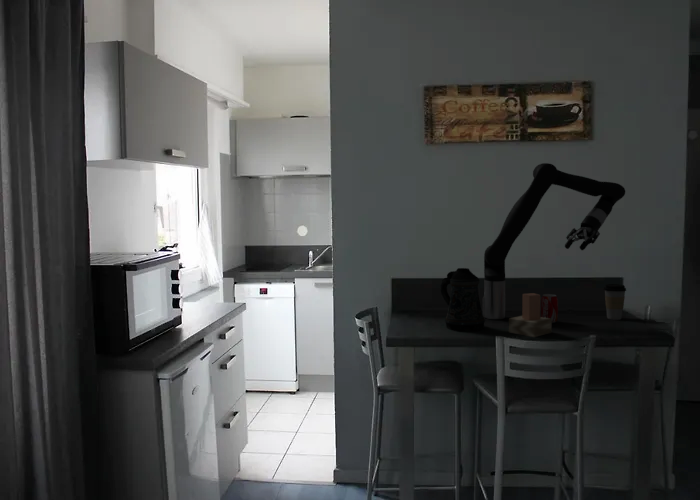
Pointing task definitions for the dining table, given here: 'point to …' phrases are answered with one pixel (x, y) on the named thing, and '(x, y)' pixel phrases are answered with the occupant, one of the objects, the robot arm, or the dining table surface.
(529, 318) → the terracotta block
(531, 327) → the birch box
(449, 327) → the beer stein
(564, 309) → the dining table surface
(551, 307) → the soda can
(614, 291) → the coffee cup
